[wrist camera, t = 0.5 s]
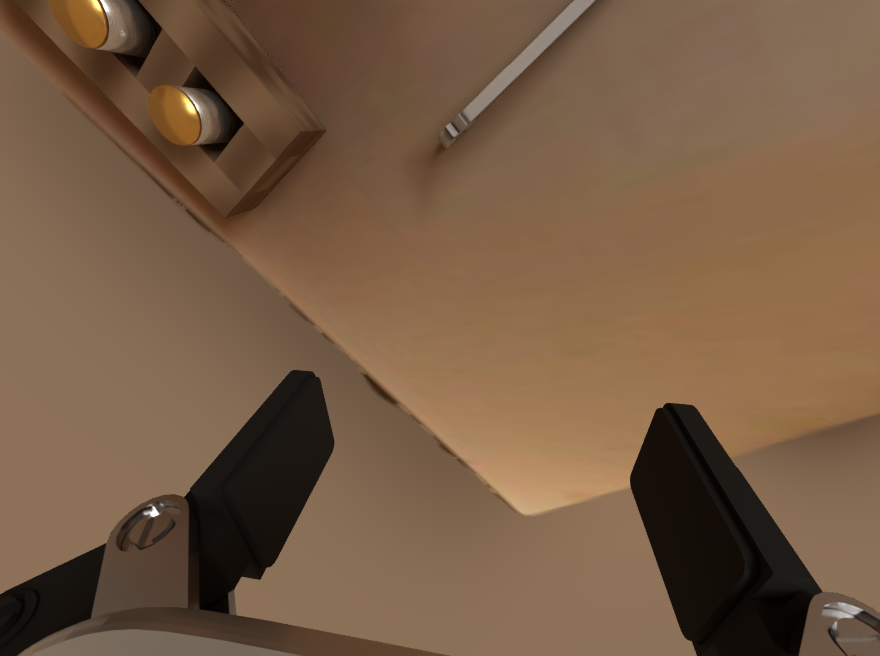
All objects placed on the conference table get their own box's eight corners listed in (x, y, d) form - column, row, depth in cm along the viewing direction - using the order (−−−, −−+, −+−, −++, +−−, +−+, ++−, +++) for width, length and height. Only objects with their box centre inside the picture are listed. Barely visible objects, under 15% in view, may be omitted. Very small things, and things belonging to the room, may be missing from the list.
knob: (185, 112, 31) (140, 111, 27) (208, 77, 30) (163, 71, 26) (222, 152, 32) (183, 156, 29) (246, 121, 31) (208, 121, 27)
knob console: (-2, -71, 30) (-87, -103, 25) (41, -232, 25) (-55, -306, 20) (255, 207, 39) (224, 218, 34) (326, 130, 34) (300, 131, 29)
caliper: (451, 147, 33) (441, 152, 28) (443, 137, 33) (431, 140, 27) (674, -76, 24) (724, -133, 19) (667, -93, 24) (715, -155, 18)
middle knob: (103, 22, 29) (40, 6, 25) (123, -22, 27) (58, -46, 23) (146, 69, 30) (92, 61, 26) (167, 30, 28) (113, 16, 24)
